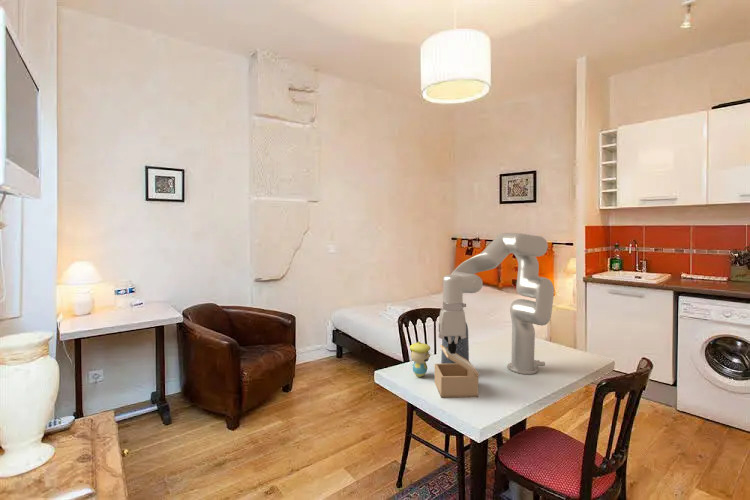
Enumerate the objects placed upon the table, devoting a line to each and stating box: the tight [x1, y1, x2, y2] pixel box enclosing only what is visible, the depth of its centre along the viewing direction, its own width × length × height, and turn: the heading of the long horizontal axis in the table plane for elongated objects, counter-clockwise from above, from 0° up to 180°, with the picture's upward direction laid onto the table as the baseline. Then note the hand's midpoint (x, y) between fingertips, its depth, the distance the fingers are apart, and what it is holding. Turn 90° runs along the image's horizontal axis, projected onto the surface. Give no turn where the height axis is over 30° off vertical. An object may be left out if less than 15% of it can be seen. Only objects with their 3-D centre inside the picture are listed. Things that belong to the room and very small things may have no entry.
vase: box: [440, 322, 470, 364], centre depth 172 cm, size 12×12×28 cm
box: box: [434, 363, 479, 399], centre depth 155 cm, size 14×14×8 cm
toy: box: [409, 341, 431, 377], centre depth 168 cm, size 8×9×15 cm
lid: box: [439, 344, 480, 377], centre depth 154 cm, size 14×14×1 cm
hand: (452, 352), depth 154 cm, fingers closed
